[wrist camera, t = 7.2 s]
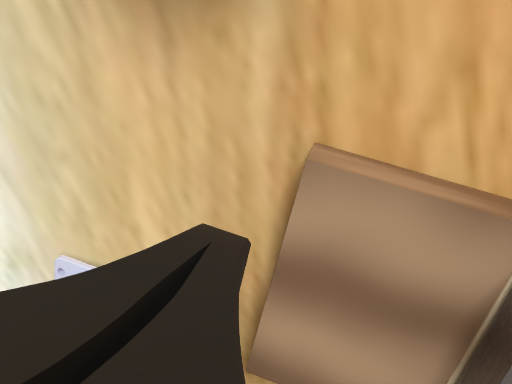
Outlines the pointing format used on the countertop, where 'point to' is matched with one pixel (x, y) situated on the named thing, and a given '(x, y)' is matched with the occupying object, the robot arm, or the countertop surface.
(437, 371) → the stool seat
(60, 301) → the robot arm
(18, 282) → the countertop surface
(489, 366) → the folding leg
